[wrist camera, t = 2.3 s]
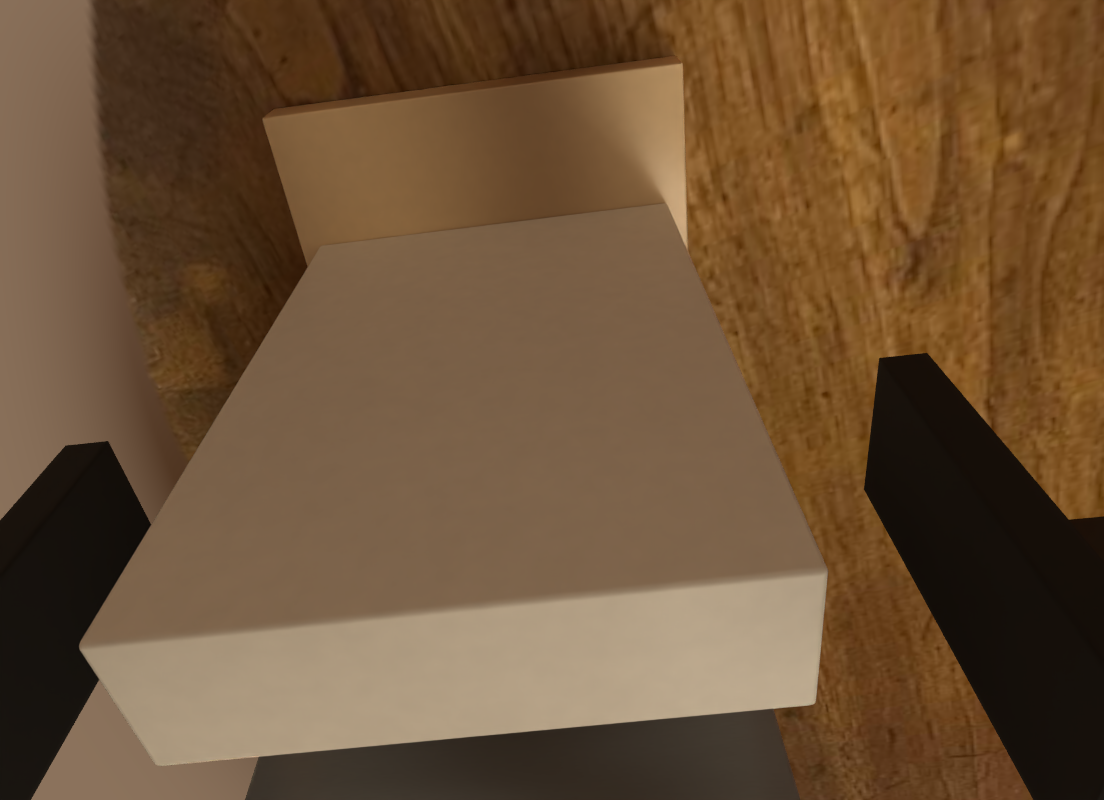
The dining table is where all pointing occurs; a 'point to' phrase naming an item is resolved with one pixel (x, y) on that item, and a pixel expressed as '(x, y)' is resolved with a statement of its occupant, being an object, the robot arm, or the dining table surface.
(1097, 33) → the dining table surface
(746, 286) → the dining table surface
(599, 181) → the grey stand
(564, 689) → the white book
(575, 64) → the dining table surface
